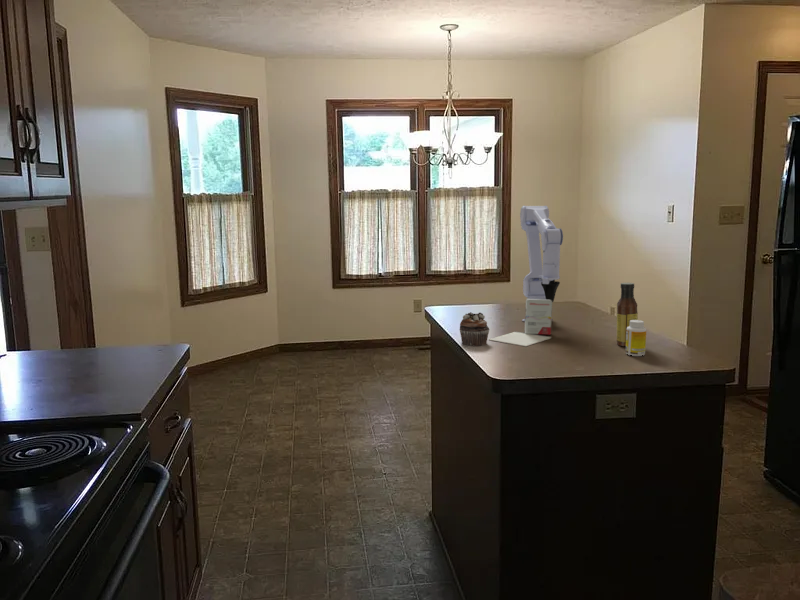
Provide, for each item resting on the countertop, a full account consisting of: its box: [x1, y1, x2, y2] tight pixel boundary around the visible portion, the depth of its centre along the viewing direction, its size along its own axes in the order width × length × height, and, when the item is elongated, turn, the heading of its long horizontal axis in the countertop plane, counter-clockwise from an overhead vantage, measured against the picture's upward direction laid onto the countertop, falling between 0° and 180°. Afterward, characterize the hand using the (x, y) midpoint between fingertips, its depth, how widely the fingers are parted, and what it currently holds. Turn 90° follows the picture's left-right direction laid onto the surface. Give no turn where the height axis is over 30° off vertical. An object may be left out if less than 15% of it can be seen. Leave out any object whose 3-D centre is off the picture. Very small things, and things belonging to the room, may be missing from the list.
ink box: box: [524, 298, 553, 336], centre depth 222 cm, size 9×5×12 cm, turn 84°
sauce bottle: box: [616, 282, 639, 348], centre depth 203 cm, size 7×6×20 cm
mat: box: [488, 331, 553, 347], centre depth 214 cm, size 16×14×1 cm
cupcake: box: [459, 312, 490, 347], centre depth 208 cm, size 10×10×10 cm
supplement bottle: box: [625, 319, 647, 357], centre depth 192 cm, size 6×6×10 cm
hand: (549, 302), depth 227 cm, fingers closed
